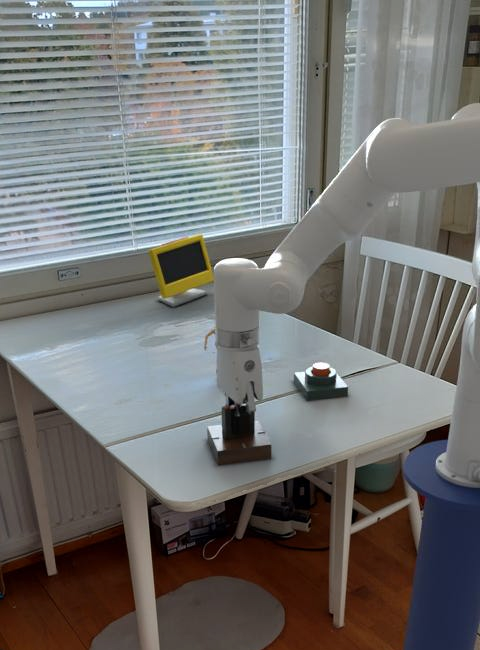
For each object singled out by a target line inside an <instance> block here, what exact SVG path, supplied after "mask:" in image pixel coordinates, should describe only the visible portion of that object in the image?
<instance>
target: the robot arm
mask: <svg viewBox="0 0 480 650" xmlns="http://www.w3.org/2000/svg"><path fill="white" fill-rule="evenodd" d="M472 184H476V187H477V206H476V209H477V210H476V225H475V226H476V227H475V238H474V239H475V240H474V248H473V254H472V262H471V271H472V272H471V273H472V277H473V280H474V282H475V286H476V298H475V304H474V305H473V306H472V307H471V309H470V310H469V312H468V313H467V315H466V318H465V319H464V323H463V328H462V336H461V346H460V347H461V349H460V358H459V359H460V360H459V368H458V375H457V381H456V388H455V392H454V399H453V406H452V413H451V419H450V425H449V432H448V437H447V440H448V444H447V450H446V452H445V453H443V454H441V455H440V456H439V457H438V458H437V460H436V465H435V468H436V471H437V473H438V474H439V475H440V476H441V477H442V478H444V479H445V480H447V481H449V482H451V483H453V484H456V485H459V486H464V487H470V488H480V102H475V103H470V104H467V105H465V106H463V107H461V108H460V109H459V110H457V112H455V114H454V115H453V116H452V117H451V119H446V120H440V121H433V122H428V123H419V124H417V123H416V124H414V123H412V122H410V121H409V120H407V119H405V118H400V117H393V118H392V117H391V118H388V119H385V120H384V121H382V122H381V123H379V124H378V125H377V126H376V127H375V128H374V129H373V130H372V131H371V133H370V134H369V135H368V136H367V138H365V140H363V142H362V144H361V145H360V146H359V148H358V149H356V151H355V152H354V153H353V155H351V157H350V159H349V160H348V161H347V163H345V164H344V166H343V167H342V168H341V169H340V171H339V172H338V174H337V175H336V176H335V177H334V178H333V180H331V182H330V183H329V184H328V185H327V187H326V188H325V189H324V190H323V192H322V193H321V194H320V195H319V197H318V198H317V199H316V200H315V201H314V202H313V204H312V205H311V207H310V208H309V209H308V210H307V211H306V213H305V214H304V215H303V216H302V218H301V219H299V221H298V222H297V224H295V226H294V227H292V229H291V230H290V232H289V233H288V234H287V236H286V237H285V238H284V239H283V240H282V242H281V243H280V244H279V245H278V247H277V248H276V249H275V250H274V252H272V254H271V255H270V256H269V258H268V260H267V261H266V263H265V265H264V267H261V268H259V266H258V265H257V263H256V262H254V261H253V260H251V259H248V258H240V257H235V258H234V257H233V258H226V259H222V260H220V261H219V262H218V263H216V264H215V266H214V268H213V277H214V281H213V304H214V327H215V334H214V337H215V338H214V339H215V342H216V346H217V348H216V369H217V373H216V382H217V386H218V388H219V389H220V390H221V391H222V392H223V393H224V397H225V405H228V406H229V405H234V404H235V415H233V434H234V435H235V436H238V435H242V434H246V433H249V432H250V414H251V412H254V411H255V412H256V411H257V407H256V401H255V400H257V401H259V402H260V401H262V400H263V398H264V388H263V384H264V383H263V367H262V358H261V353H260V347H259V345H260V311H261V312H264V313H265V312H266V313H271V314H276V315H285V314H288V313H292V312H294V311H295V310H296V309H297V308H298V307H299V306H300V305H301V303H302V301H303V298H304V295H305V289H306V285H307V282H308V280H310V278H311V277H312V276H313V274H314V273H315V272H316V271H317V270H318V269H319V267H320V266H321V265H322V264H323V263H324V262H325V261H326V259H327V258H329V256H330V255H331V254H332V253H333V252H334V251H335V250H336V249H337V248H339V247H340V246H341V245H343V244H344V243H347V242H349V241H352V240H355V239H357V237H358V236H360V235H361V234H362V233H363V232H364V231H365V230H366V229H367V227H369V225H370V224H371V223H372V222H373V220H374V219H375V218H376V217H377V215H378V214H380V212H381V211H382V210H383V209H384V207H385V206H386V205H387V204H388V203H389V202H390V201H391V200H392V198H393V197H394V196H396V194H401V193H414V192H422V191H429V190H437V189H444V188H451V187H459V186H465V185H472ZM216 346H215V347H216ZM245 403H246V405H243V406H241V407H240V405H242V404H245Z"/></svg>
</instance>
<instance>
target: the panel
mask: <svg viewBox="0 0 480 650" xmlns="http://www.w3.org/2000/svg"><path fill="white" fill-rule="evenodd" d="M206 435H207V436H206V437H207V442H208V444H209V447H210V449H211V452H212V454H213V457H214V459H215V461H216V464H217V466H227V465H232V464H233V465H234V464H241V463H249V462H258V461H265V460H266V461H267V460H272V443H271V441H270V440H269V437H268V436H267V434H266V431H265V430H264V429H263V427H262V425H261V423H260V421H259V420H255V433H253V434H249V435H245V436H241V437H237V438H233V439H228V440H225V439H224V438H223V437H222V424H215V425H208V426H206Z"/></svg>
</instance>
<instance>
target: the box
mask: <svg viewBox="0 0 480 650" xmlns="http://www.w3.org/2000/svg"><path fill="white" fill-rule="evenodd" d="M312 371H313V365H312V366H310V367H308V368H306V370H305V371H296V372H293V384H294V385H295V386H296V388H297V389H298V390H299V392H300V394H301V395H302V396H303V398H304V399H305V401H306V402H311V401H318V400H328V399H337V398H346V397H348V396H349V394H348V393H349V386H348V384H347V383H346V382H345V381H344V380H343V378H342V377H341V376H340V375H339V374H338V372H337V370H336V368H333V367H331V366H330V371H329V374H328V375H325V376H318V375H314V374H313V373H312Z"/></svg>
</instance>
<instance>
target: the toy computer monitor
mask: <svg viewBox="0 0 480 650" xmlns="http://www.w3.org/2000/svg"><path fill="white" fill-rule="evenodd" d="M147 252H148V255H149V258H150V262H151V266H152V268H153V272H154V274H155V278H156V282H157V285H158V289H159V292H160V295H159V296H157V298H158V301H159V302H161V303H164V304H166V305H168V306H170V307H172V308H174V307H177V306H180V305H182V304H185V303H188V302H190V301H193V300H195V299H198V298H200V297H204V296H206V295H207V290H203V289H199V288H198V287H201V286H204V285H206V284H208V283H209V284H210V283H212V282H214V277H213V276H214V271H213V268H212V264H211V262H210V261H211V260H210V257H209V254H208V249H207V247H206V243H205V239H204V235H203V233H200V234H199V233H198V234H196V235H194V236H184V237H180V238H178V239H174V240H171V241H168V242H165V243H161V246H157V247H154V248H151V249H148V251H147Z"/></svg>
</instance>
